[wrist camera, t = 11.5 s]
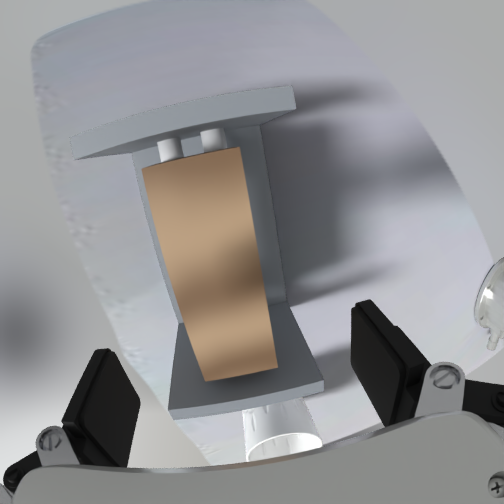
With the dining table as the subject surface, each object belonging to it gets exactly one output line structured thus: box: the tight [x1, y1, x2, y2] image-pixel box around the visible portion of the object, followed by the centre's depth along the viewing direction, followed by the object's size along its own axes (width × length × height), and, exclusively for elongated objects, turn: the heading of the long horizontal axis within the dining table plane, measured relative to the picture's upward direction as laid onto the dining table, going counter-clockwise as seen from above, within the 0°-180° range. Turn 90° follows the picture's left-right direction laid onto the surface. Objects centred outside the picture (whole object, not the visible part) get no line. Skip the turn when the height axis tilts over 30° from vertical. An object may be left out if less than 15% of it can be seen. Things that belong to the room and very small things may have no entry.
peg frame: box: [69, 86, 324, 420], centre depth 21 cm, size 19×11×12 cm, turn 10°
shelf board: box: [141, 147, 278, 382], centre depth 19 cm, size 14×5×5 cm, turn 10°
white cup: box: [243, 397, 323, 462], centre depth 30 cm, size 8×8×10 cm
